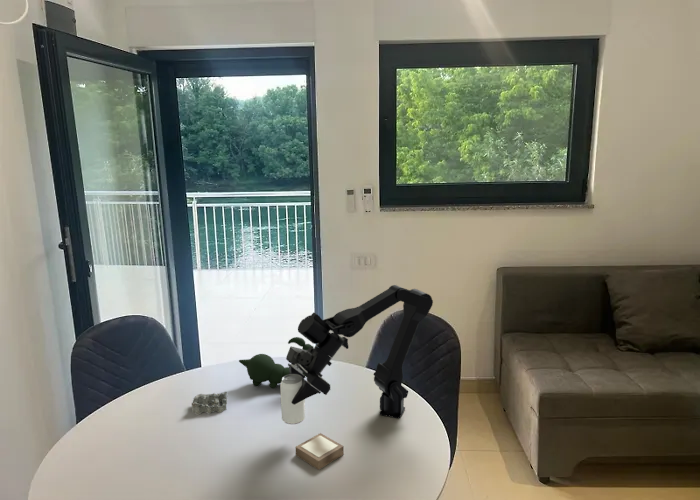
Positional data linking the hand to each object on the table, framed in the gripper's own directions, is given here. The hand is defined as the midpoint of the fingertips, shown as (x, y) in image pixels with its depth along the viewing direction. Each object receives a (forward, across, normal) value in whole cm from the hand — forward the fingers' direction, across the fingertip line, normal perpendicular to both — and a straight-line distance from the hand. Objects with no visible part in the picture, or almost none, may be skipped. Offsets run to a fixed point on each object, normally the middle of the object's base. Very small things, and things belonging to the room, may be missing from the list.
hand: (288, 398), depth 138 cm
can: (+4, 0, +6) cm, 7 cm away
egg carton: (+20, -29, -1) cm, 36 cm away
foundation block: (+6, +10, +13) cm, 17 cm away
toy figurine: (+4, -34, +16) cm, 37 cm away
